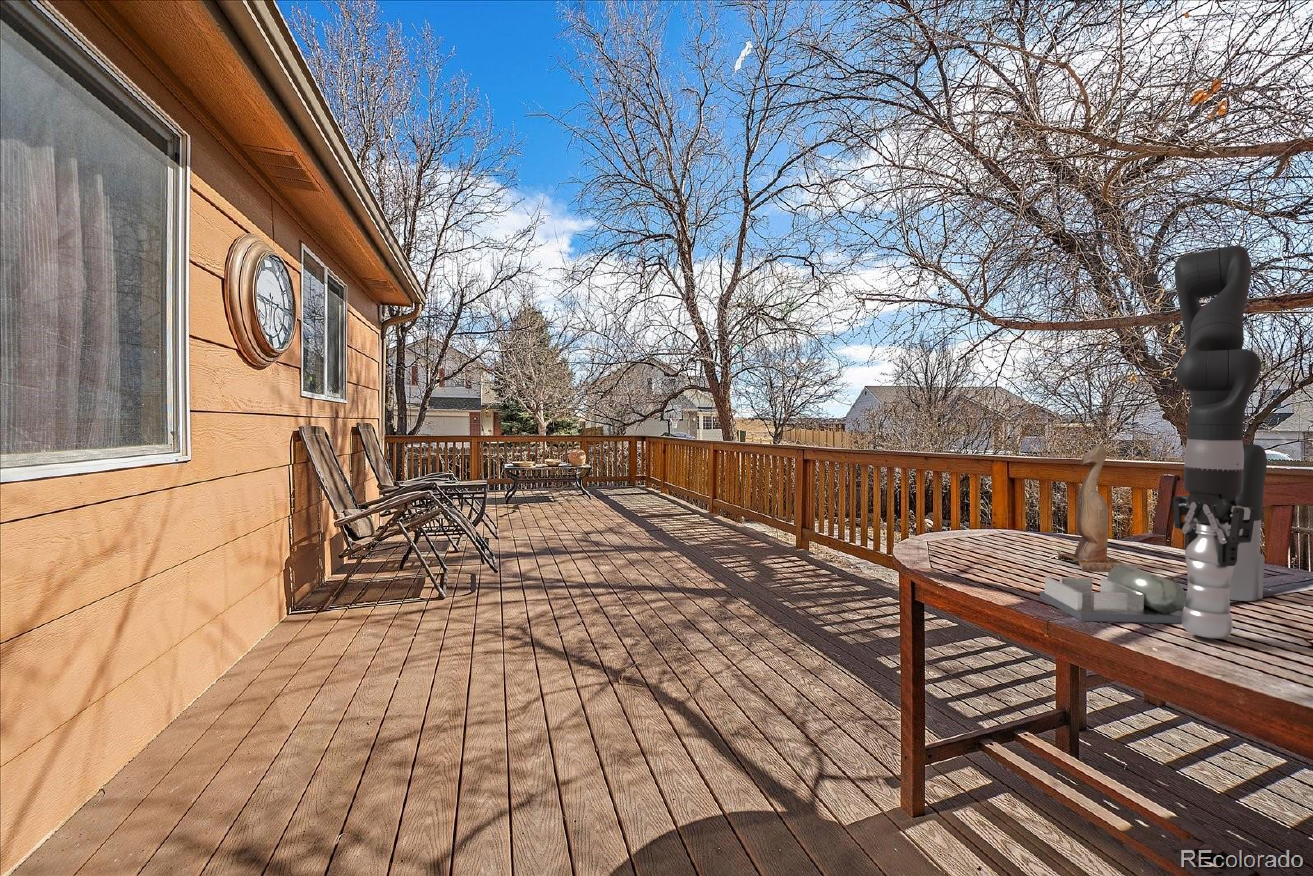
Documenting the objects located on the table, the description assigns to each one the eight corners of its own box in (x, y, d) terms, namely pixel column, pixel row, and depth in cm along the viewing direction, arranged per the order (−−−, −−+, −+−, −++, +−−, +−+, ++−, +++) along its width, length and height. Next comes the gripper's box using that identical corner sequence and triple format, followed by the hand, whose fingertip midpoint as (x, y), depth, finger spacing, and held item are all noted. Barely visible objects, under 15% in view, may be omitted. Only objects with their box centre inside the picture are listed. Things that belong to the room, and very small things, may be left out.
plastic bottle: (1179, 626, 109) (1183, 519, 108) (1230, 635, 105) (1235, 523, 104) (1181, 637, 104) (1185, 524, 103) (1234, 646, 100) (1240, 529, 99)
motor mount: (1137, 600, 126) (1139, 563, 126) (1191, 623, 112) (1193, 582, 112) (1039, 597, 128) (1040, 561, 127) (1081, 621, 114) (1082, 580, 113)
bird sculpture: (1054, 561, 159) (1055, 443, 157) (1099, 561, 159) (1100, 442, 157) (1082, 573, 148) (1083, 446, 146) (1130, 572, 148) (1132, 445, 146)
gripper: (1276, 469, 96) (1271, 571, 96) (1201, 461, 110) (1197, 550, 111) (1226, 469, 96) (1222, 571, 97) (1158, 461, 110) (1155, 550, 111)
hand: (1209, 559), depth 104 cm, fingers closed on plastic bottle, 6 cm apart
